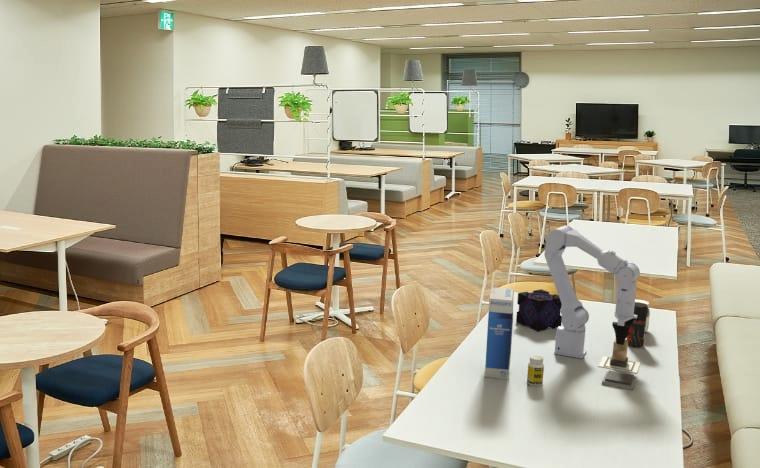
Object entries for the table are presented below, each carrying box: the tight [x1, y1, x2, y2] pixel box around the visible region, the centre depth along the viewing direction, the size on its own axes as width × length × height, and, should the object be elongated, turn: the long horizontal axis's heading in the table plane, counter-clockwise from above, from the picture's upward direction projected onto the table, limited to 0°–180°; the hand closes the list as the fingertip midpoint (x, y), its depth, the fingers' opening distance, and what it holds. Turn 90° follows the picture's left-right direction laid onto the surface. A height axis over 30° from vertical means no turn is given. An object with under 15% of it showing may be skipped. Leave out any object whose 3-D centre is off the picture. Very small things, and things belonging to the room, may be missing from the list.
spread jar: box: [635, 298, 651, 335], centre depth 272 cm, size 12×11×12 cm
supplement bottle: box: [526, 354, 545, 387], centre depth 221 cm, size 5×5×8 cm
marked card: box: [597, 355, 641, 374], centre depth 238 cm, size 12×10×1 cm
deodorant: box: [626, 302, 649, 349], centre depth 256 cm, size 6×6×15 cm
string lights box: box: [484, 287, 515, 380], centre depth 228 cm, size 13×8×26 cm, turn 168°
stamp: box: [610, 338, 629, 368], centre depth 237 cm, size 5×5×8 cm
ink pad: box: [601, 369, 637, 391], centre depth 224 cm, size 9×9×2 cm
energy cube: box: [515, 288, 562, 332], centre depth 276 cm, size 12×12×12 cm
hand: (621, 340), depth 236 cm, fingers open, 7 cm apart
